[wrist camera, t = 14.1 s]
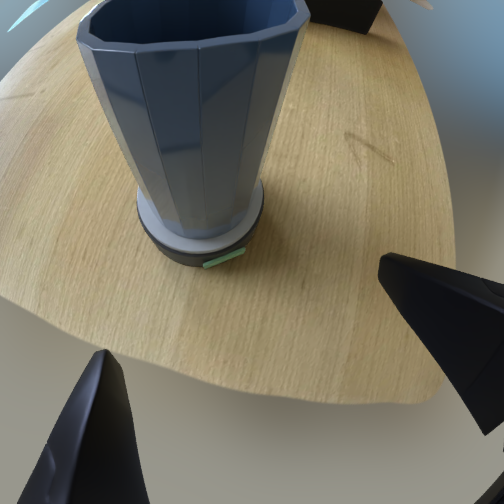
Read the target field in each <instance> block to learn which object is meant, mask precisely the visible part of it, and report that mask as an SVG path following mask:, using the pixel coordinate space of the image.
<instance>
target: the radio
mask: <svg viewBox="0 0 504 504" xmlns="http://www.w3.org/2000/svg"><path fill="white" fill-rule="evenodd" d="M304 1H305V3H306V5H307V7H308V9H309V12H310V14H311V17H310V20H309V22H315V23H320V24H325V25H330V26H334V27H338V28H342V29H346V30H350V31H354V32H357V33H361V34H365V35H366V34H367V33H368V31H369V29H370V27H371V25H372V23H373V21H374V20H375V18H376V16H377V14H378V12H379V10H380V8H381V6H382V4H383V2H382V1H381V0H304Z"/></svg>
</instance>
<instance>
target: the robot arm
mask: <svg viewBox="0 0 504 504" xmlns="http://www.w3.org/2000/svg"><path fill="white" fill-rule="evenodd" d="M378 280H379V282H380V283H381V285H382V286H383V288H384V289H385V291H386V292H387V294H388V295H389V297H390V298H391V300H392V302H393V303H394V305H395V306H396V308H397V309H398V311H399V312H400V314H401V315H402V316H403V318H404V319H405V320H406V322H407V323H408V324H409V325H410V327H411V328H412V329H413V331H414V332H415V333H416V335H417V336H418V337H419V339H420V340H421V341H422V343H423V344H424V345H425V347H426V348H427V349H428V351H429V352H430V353H431V355H432V356H433V357H434V359H435V360H436V362H437V363H438V364H439V366H440V367H441V369H442V370H443V372H444V373H445V374H446V376H447V377H448V379H449V380H450V382H451V383H452V385H453V386H454V388H455V389H456V391H457V392H458V394H459V395H460V397H461V398H462V400H463V402H464V403H465V405H466V406H467V408H468V409H469V411H470V413H471V414H472V416H473V418H474V419H475V421H476V423H477V424H478V426H479V428H480V429H481V431H482V433H483V434H484V435H485V436H486V435H487V434H489V433H490V432H491V431H492V430H494V429H495V428H496V427H497V426H499V425H500V424H501V423H502V422H504V284H501V283H497V282H494V281H490V280H487V279H484V278H480V277H477V276H474V275H471V274H467V273H464V272H461V271H457V270H454V269H450V268H447V267H443V266H440V265H436V264H433V263H429V262H426V261H422V260H418V259H415V258H411V257H407V256H404V255H400V254H396V253H392V252H390V253H387V254H385V255H382V256H381V258H380V262H379V270H378ZM503 452H504V449H503ZM17 504H150V502H149V499H148V495H147V491H146V487H145V483H144V478H143V474H142V469H141V465H140V460H139V454H138V449H137V444H136V437H135V430H134V423H133V417H132V412H131V407H130V403H129V399H128V394H127V389H126V385H125V379H124V374H123V370H122V367H121V366H120V364H119V363H118V362H117V360H116V359H115V358H114V356H113V355H112V354H111V352H110V351H109V350H107V349H104V350H100V351H96V352H95V353H94V354H93V356H92V358H91V360H90V361H89V363H88V365H87V366H86V368H85V370H84V372H83V373H82V375H81V377H80V379H79V380H78V382H77V384H76V386H75V387H74V389H73V391H72V393H71V395H70V397H69V399H68V400H67V402H66V404H65V406H64V408H63V410H62V412H61V414H60V416H59V418H58V420H57V422H56V424H55V426H54V428H53V430H52V432H51V434H50V436H49V438H48V440H47V444H46V445H45V447H44V449H43V451H42V453H41V455H40V458H39V460H38V462H37V464H36V466H35V468H34V470H33V473H32V474H31V476H30V478H29V480H28V482H27V484H26V486H25V488H24V490H23V492H22V494H21V496H20V498H19V500H18V502H17ZM474 504H504V472H502V474H501V475H500V476H499V477H498V479H497V480H496V481H495V482H494V483H493V484H492V486H490V488H489V489H488V490H487V491H486V492H485V493H484V494H483V495H482V496H481V497H480V498H479V499H478V500H477V501H476V502H475V503H474Z"/></svg>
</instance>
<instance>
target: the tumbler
mask: <svg viewBox="0 0 504 504" xmlns="http://www.w3.org/2000/svg"><path fill="white" fill-rule="evenodd" d="M310 17H311V14H310V12H309V9H308V7H307V5H306V3H305V1H304V0H105V1H103V2H101V3H100V4H98V5H97V6H95V7H94V8H93V9H92V10H91V11H90V12H89V13H88V14H87V15H86V16H85V17H84V18H83V19H82V20H81V21H80V23H79V27H78V31H77V36H76V41H77V44H78V47H79V49H80V52H81V55H82V58H83V61H84V63H85V66H86V69H87V71H88V74H89V76H90V79H91V82H92V84H93V87H94V89H95V92H96V94H97V96H98V99H99V101H100V104H101V106H102V108H103V111H104V113H105V115H106V118H107V120H108V122H109V124H110V127H111V129H112V131H113V133H114V136H115V138H116V140H117V142H118V144H119V146H120V149H121V151H122V153H123V155H124V157H125V159H126V161H127V163H128V165H129V167H130V169H131V171H132V173H133V175H134V177H135V179H136V181H137V183H138V185H139V187H140V189H141V191H142V193H143V195H144V197H145V199H146V201H147V203H148V205H149V207H150V208H151V210H152V212H153V214H154V215H155V216H156V218H157V219H158V220H159V222H160V223H161V224H162V225H163V226H164V227H165V228H166V229H168V230H169V231H170V232H172V233H174V234H176V235H178V236H181V237H184V238H188V239H196V240H202V239H210V238H215V237H218V236H221V235H223V234H225V233H227V232H229V231H231V230H232V229H233V228H235V227H236V226H237V225H238V224H239V223H240V222H241V221H242V220H243V219H244V217H245V216H246V215H247V213H248V211H249V209H250V206H251V204H252V201H253V199H254V197H255V193H256V190H257V187H258V183H259V180H260V176H261V173H262V170H263V167H264V163H265V160H266V157H267V153H268V150H269V147H270V143H271V140H272V137H273V134H274V130H275V127H276V124H277V121H278V117H279V114H280V111H281V108H282V105H283V101H284V98H285V95H286V92H287V89H288V86H289V82H290V79H291V76H292V73H293V70H294V67H295V63H296V60H297V57H298V54H299V51H300V48H301V45H302V42H303V39H304V36H305V33H306V29H307V26H308V23H309V20H310Z"/></svg>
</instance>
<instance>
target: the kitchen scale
mask: <svg viewBox="0 0 504 504" xmlns="http://www.w3.org/2000/svg"><path fill="white" fill-rule="evenodd" d="M263 205H264V190H263V185H262V181H261V179H260V180H259V183H258V187H257V190H256V193H255V197H254V199H253V201H252V204H251V206H250V209H249V211H248V213H247V215H246V216H245V217H244V219H243V220H242V221H241V222H240V223H239V224H238V225H237V226H236V227H235V228H233V229H232V230H231V231H229V232H227V233H225V234H223V235H221V236H218V237H215V238H210V239H202V240H196V239H188V238H184V237H181V236H178V235H176V234H174V233H172V232H170V231H169V230H168V229H166V228H165V227H164V226H163V225H162V224H161V223H160V222H159V220H158V219H157V218H156V216H155V215H154V214H153V212H152V210H151V208H150V207H149V205H148V203H147V201H146V199H145V197H144V195H143V193H142V191H141V189H140V187H139V188H138V194H137V211H138V216H139V219H140V222H141V224H142V226H143V228H144V230H145V231H146V233H147V234H148V236H149V237H150V238H151V240H152V241H153V242H154V244H155V245H156V246H157V248H158V249H159V250H160V251H161V252H162V253H163V254H164V255H166V256H167V257H169V258H170V259H172V260H174V261H176V262H178V263H181V264H184V265H188V266H195V267H204V269H207V268H209V267H212V266H214V265H217V264H220V263H223V262H225V261H227V260H229V259H231V258H233V257H236V256H238V255H241V254H243V253H244V252H245V246H246V245H247V244H248V242H249V241H250V239H251V238H252V236H253V234H254V232H255V229H256V227H257V224H258V222H259V219H260V217H261V214H262V211H263Z"/></svg>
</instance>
